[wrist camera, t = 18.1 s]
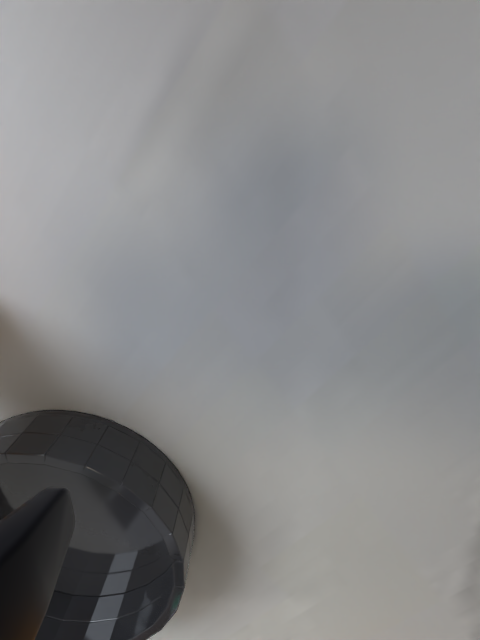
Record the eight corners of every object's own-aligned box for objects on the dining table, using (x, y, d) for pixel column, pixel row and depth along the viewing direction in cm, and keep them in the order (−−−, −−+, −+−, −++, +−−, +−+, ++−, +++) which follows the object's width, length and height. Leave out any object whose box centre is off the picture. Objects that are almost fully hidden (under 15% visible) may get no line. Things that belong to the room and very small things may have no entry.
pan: (239, 484, 24) (235, 539, 21) (132, 623, 29) (114, 687, 26) (4, 364, 22) (-45, 402, 19) (-70, 535, 27) (-119, 591, 24)
